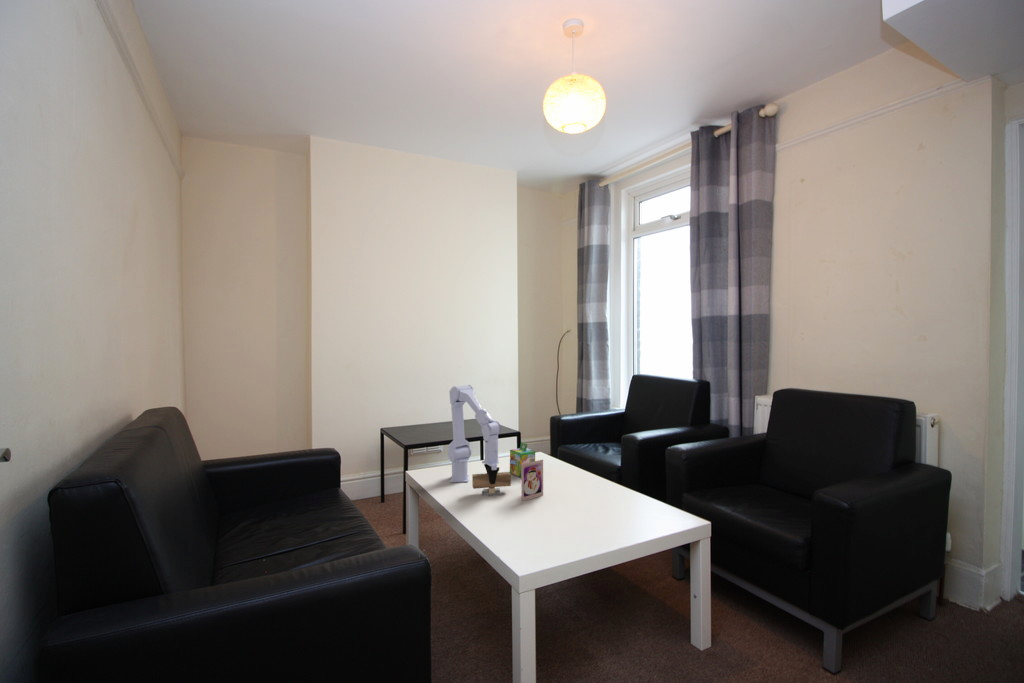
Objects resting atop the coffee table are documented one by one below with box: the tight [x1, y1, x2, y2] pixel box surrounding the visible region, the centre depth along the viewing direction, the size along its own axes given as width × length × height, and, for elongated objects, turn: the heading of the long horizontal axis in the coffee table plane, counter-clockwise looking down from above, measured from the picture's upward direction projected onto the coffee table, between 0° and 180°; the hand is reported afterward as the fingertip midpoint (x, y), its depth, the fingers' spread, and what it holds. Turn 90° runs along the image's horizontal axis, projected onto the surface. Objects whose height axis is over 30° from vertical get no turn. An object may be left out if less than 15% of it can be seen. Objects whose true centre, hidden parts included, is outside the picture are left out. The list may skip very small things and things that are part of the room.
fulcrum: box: [482, 487, 501, 496], centre depth 199 cm, size 6×7×2 cm
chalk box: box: [509, 442, 536, 478], centre depth 225 cm, size 9×9×15 cm
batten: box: [471, 471, 512, 489], centre depth 199 cm, size 4×16×5 cm, turn 101°
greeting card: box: [520, 457, 544, 502], centre depth 194 cm, size 11×7×15 cm, turn 126°
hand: (491, 482), depth 199 cm, fingers closed on batten, 3 cm apart
